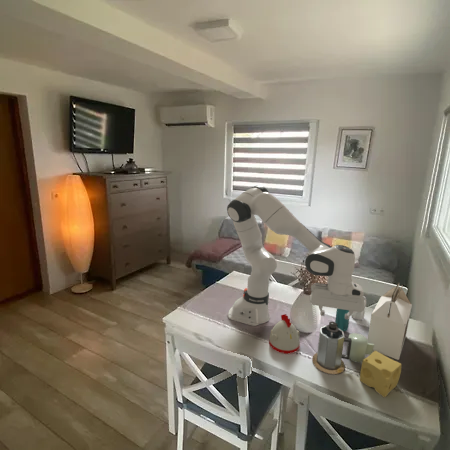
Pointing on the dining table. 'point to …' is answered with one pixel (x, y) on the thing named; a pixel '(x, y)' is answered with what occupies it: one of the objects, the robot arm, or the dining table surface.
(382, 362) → the cheese
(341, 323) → the beverage bottle
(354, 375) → the dining table surface
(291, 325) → the kitchen timer
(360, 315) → the can
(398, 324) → the gable box
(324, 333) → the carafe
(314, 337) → the dining table surface
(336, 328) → the plunger
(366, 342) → the mug
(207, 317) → the dining table surface
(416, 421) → the dining table surface
